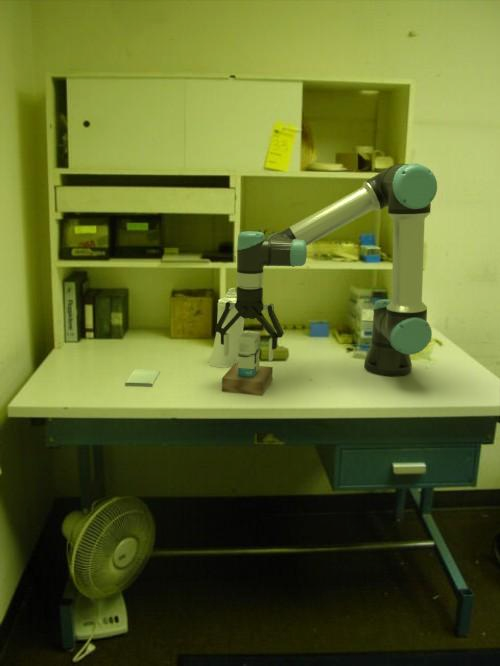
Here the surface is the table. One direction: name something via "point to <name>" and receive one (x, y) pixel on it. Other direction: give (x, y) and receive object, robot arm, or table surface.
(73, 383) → the table surface
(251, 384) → the wooden block
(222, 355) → the spray can
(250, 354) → the ink box
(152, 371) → the hard drive
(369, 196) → the robot arm
